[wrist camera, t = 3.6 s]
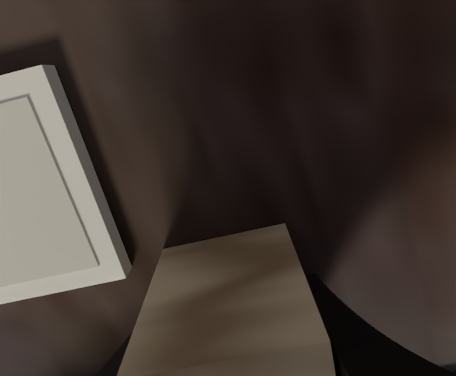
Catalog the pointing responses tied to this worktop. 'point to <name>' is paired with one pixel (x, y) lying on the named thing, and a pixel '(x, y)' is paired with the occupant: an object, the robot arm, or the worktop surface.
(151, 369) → the maple block
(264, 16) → the worktop surface
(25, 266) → the tray
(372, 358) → the robot arm
